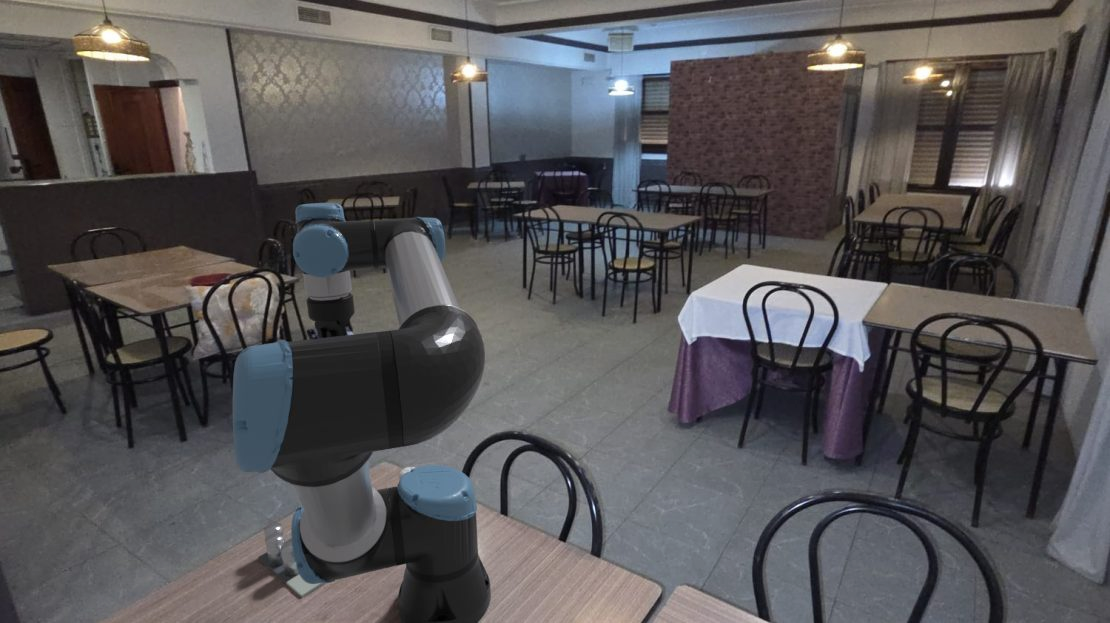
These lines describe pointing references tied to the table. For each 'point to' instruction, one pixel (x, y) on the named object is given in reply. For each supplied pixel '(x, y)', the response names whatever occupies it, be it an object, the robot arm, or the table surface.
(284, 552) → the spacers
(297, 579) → the mat
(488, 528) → the table surface
